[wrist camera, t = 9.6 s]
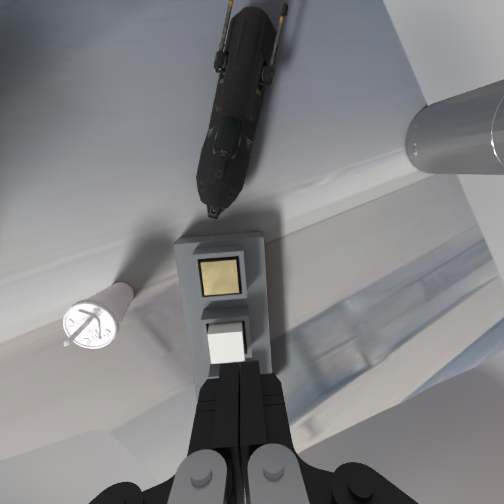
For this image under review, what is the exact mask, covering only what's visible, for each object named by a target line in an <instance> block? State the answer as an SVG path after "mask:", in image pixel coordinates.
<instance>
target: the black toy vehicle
mask: <svg viewBox="0 0 504 504" xmlns="http://www.w3.org/2000/svg"><path fill="white" fill-rule="evenodd" d="M232 4H233V0H229V4H228V9H227V14H226V19H225V24H224V29H223V33H222V34H223V35H222V39H221V43H220V45H219V46H220V48H219V51H218V52H217V53H216V57H215V62H214V68H215V70H216V72H217V73H219V72H220V75H219V80H218V85H217V89H216V94H215V99H214V104H213V109H212V114H211V119H210V124H209V129H208V133H207V136H206V139H205V142H204V144H203V147H202V151H201V156H200V161H199V166H198V171H197V175H196V179H197V187H198V192H199V195H200V199H201V202H203V203H204V204H206V205H207V211H208V217H210V218H214V219H217V218H218V217H219V215H220V213H221V212H222V210H223V208H228V207H229V206H230V205H231V204H232V203H233V202H234V201H235V199H236V198H237V196H238V195H239V193H240V192H241V190H242V188H243V184H244V180H245V176H246V172H247V167H248V163H249V158H250V152H251V146H252V141H253V138H254V134H255V130H256V126H257V122H258V118H259V114H260V109H261V105H262V101H263V97H264V93H265V89H266V87H268V85H270V84H271V82H272V79H273V75H274V69H273V65H274V63H275V56H276V51H277V47H278V41H279V37H280V33H281V29H282V25H283V21H284V16H286V15H287V11H288V5H287V4H286V3H284V5H283V9H282V13H281V17H280V21H279V25H278V30H277V32H276V30H275V28H274V26H273V24H272V22H271V21H270V19H269V17H268V15H267V14H266V13H265V12H264V11H263V10H261V9H259V8H257V7H251V6H250V7H245V8H243V9H242V10H241V11H240V12H239V13H238V14H236V15H235V16H234V17H233V18H232V19H231V22H230V26H229V31H228V35H227V40H226V45H225V44H224V41H225V36H226V33H227V29H228V24H229V19H230V14H231V9H232ZM224 46H225V50H224V52H223V48H224ZM219 68H221V70H220V71H219V70H218V69H219Z"/></svg>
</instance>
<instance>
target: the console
mask: <svg viewBox="0 0 504 504" xmlns="http://www.w3.org/2000/svg"><path fill="white" fill-rule="evenodd" d="M173 245H174V251H175V258H176V264H177V271H178V277H179V284H180V291H181V297H182V304H183V310H184V317H185V324H186V330H187V337H188V343H189V350H190V357H191V363H192V370H193V376H194V383H195V390H196V396H197V403H198V396H199V391H200V388H201V387H202V386H203V384H204V383H205V381H206V380H207V379H212V378H219V371H220V364H222V363H217V364H211V359H210V351H209V344H208V336H207V333H208V328H209V323H220V322H232V321H242V326H243V337H244V351H245V361H256V360H259V368H260V374H269V373H272V364H271V347H270V331H269V315H268V299H267V282H266V266H265V250H264V237H263V234H262V231H257V232H244V233H232V234H219V235H206V236H193V237H180V238H179V239H178V240H177V241H176V242H175V243H174V244H173ZM231 256H237V265H238V276H239V293H228V294H215V295H205V294H204V286H203V278H202V270H201V260H202V259H206V258H218V257H231ZM241 362H244V361H241ZM229 363H234V362H229ZM239 364H240V362H239Z"/></svg>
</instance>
